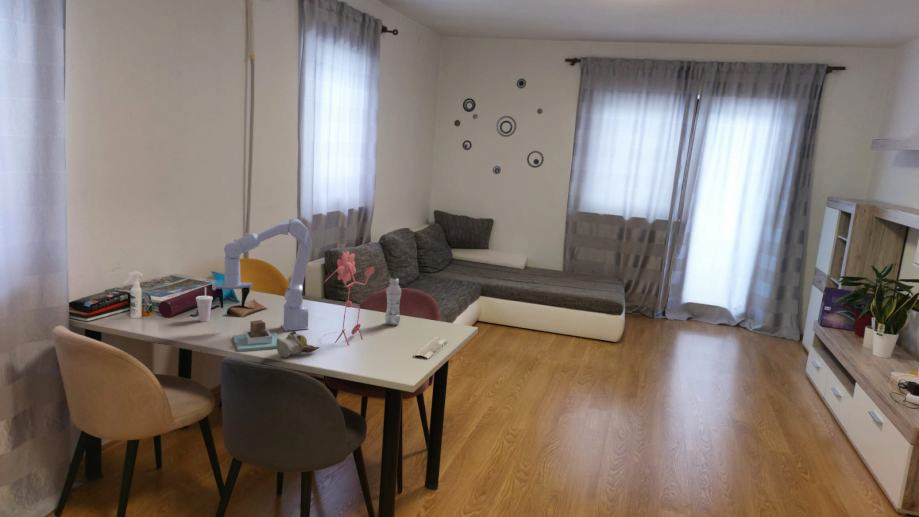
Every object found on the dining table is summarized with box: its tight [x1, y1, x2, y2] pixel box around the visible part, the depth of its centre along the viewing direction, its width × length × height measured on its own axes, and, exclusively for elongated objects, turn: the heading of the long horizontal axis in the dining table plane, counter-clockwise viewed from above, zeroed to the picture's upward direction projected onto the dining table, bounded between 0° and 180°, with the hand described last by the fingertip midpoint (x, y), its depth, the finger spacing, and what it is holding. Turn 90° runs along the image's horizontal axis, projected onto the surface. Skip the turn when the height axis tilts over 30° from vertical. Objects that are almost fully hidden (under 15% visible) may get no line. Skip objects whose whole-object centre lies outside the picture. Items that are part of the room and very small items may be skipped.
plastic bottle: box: [384, 277, 402, 326], centre depth 267 cm, size 6×7×20 cm
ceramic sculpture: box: [276, 331, 320, 358], centre depth 224 cm, size 11×9×15 cm
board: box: [232, 332, 281, 353], centre depth 234 cm, size 16×16×1 cm
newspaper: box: [412, 336, 447, 360], centre depth 240 cm, size 24×7×2 cm, turn 165°
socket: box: [243, 329, 272, 345], centre depth 234 cm, size 9×9×2 cm
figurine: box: [319, 250, 375, 346], centre depth 242 cm, size 15×26×35 cm, turn 153°
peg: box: [249, 319, 266, 337], centre depth 233 cm, size 4×4×7 cm
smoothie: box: [195, 286, 214, 323], centre depth 255 cm, size 6×6×14 cm
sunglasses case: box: [226, 299, 269, 318], centre depth 273 cm, size 18×7×7 cm
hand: (232, 307), depth 245 cm, fingers open, 7 cm apart
